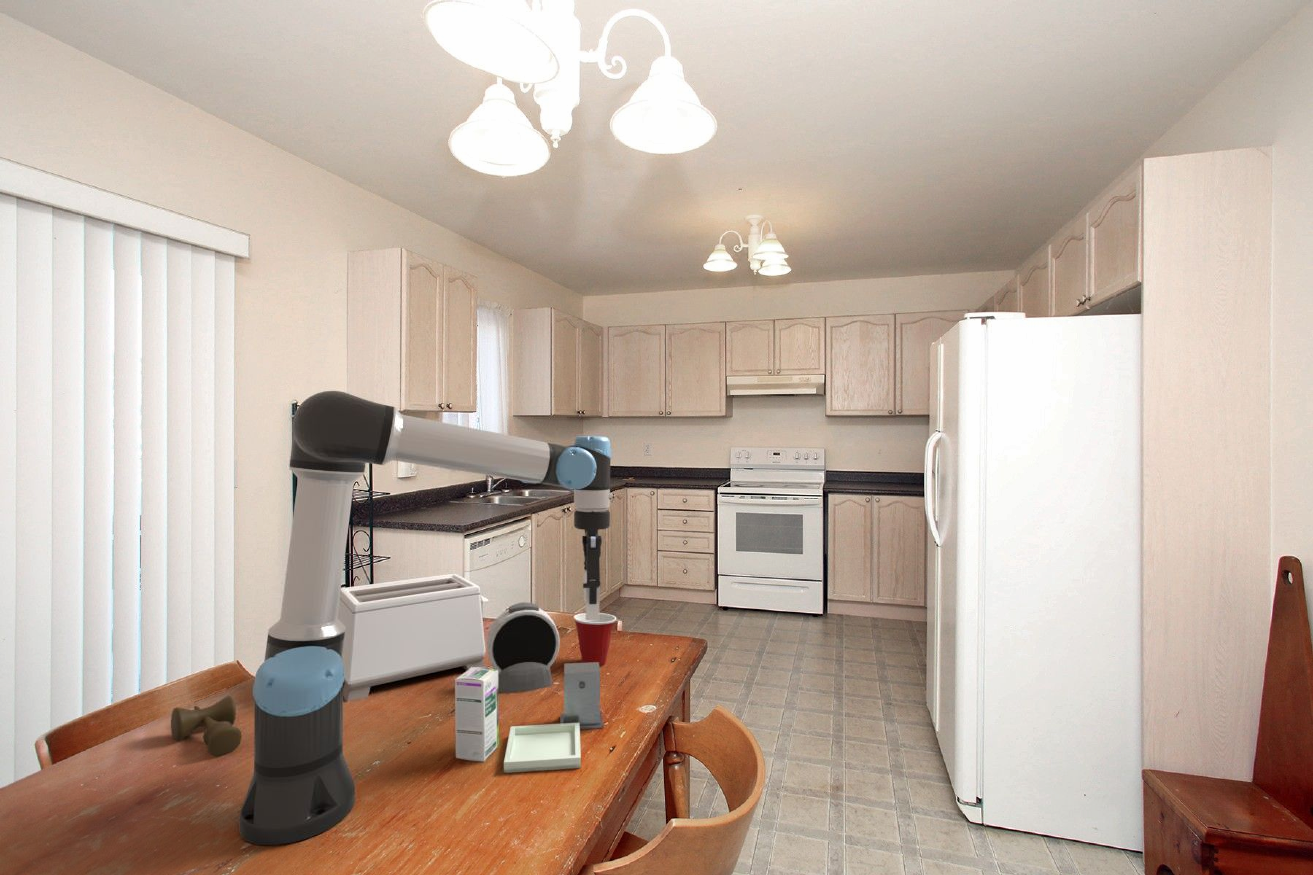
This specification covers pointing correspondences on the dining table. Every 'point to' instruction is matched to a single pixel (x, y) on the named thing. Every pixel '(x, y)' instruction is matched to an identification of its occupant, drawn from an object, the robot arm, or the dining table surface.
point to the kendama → (209, 725)
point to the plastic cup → (594, 637)
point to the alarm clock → (523, 648)
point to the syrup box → (476, 713)
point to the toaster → (409, 630)
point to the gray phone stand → (582, 695)
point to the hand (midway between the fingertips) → (591, 609)
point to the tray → (543, 747)
